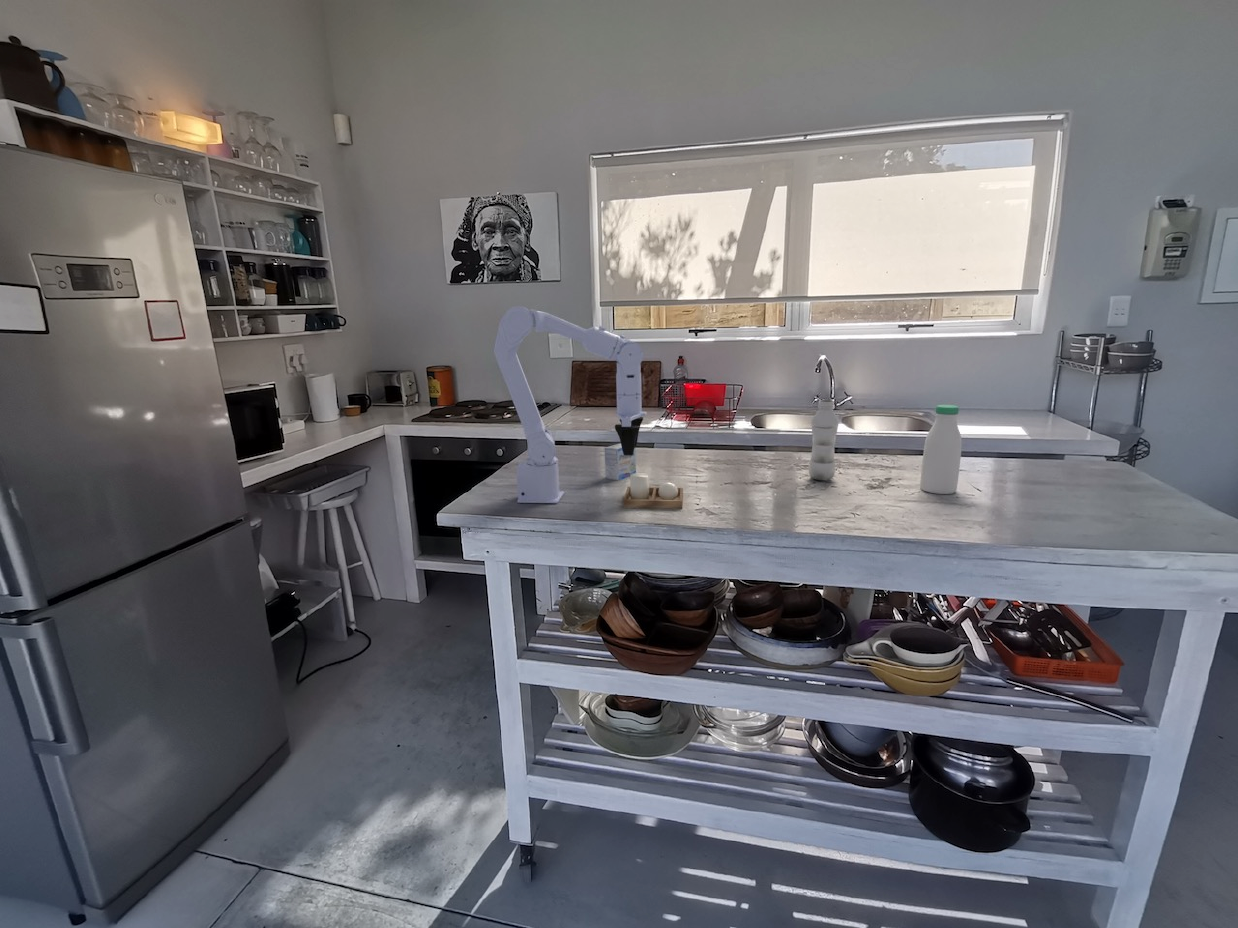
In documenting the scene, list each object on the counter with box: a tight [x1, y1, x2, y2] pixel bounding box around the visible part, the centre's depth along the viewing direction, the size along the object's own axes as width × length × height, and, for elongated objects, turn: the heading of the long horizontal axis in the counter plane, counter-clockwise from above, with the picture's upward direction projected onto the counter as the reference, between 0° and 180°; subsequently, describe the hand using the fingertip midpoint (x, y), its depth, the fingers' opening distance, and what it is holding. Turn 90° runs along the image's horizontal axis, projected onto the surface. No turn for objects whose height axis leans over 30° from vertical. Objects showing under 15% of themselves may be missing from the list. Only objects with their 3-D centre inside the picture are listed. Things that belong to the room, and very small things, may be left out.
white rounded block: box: [629, 472, 650, 500], centre depth 138 cm, size 4×4×6 cm
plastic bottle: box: [808, 399, 840, 481], centre depth 151 cm, size 6×7×20 cm
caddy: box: [622, 486, 684, 510], centre depth 138 cm, size 13×10×2 cm
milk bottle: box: [919, 404, 963, 495], centre depth 140 cm, size 8×8×20 cm
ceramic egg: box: [659, 481, 678, 500], centre depth 137 cm, size 4×4×4 cm
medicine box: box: [604, 442, 637, 481], centre depth 158 cm, size 8×4×9 cm, turn 143°
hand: (630, 451), depth 143 cm, fingers open, 7 cm apart
